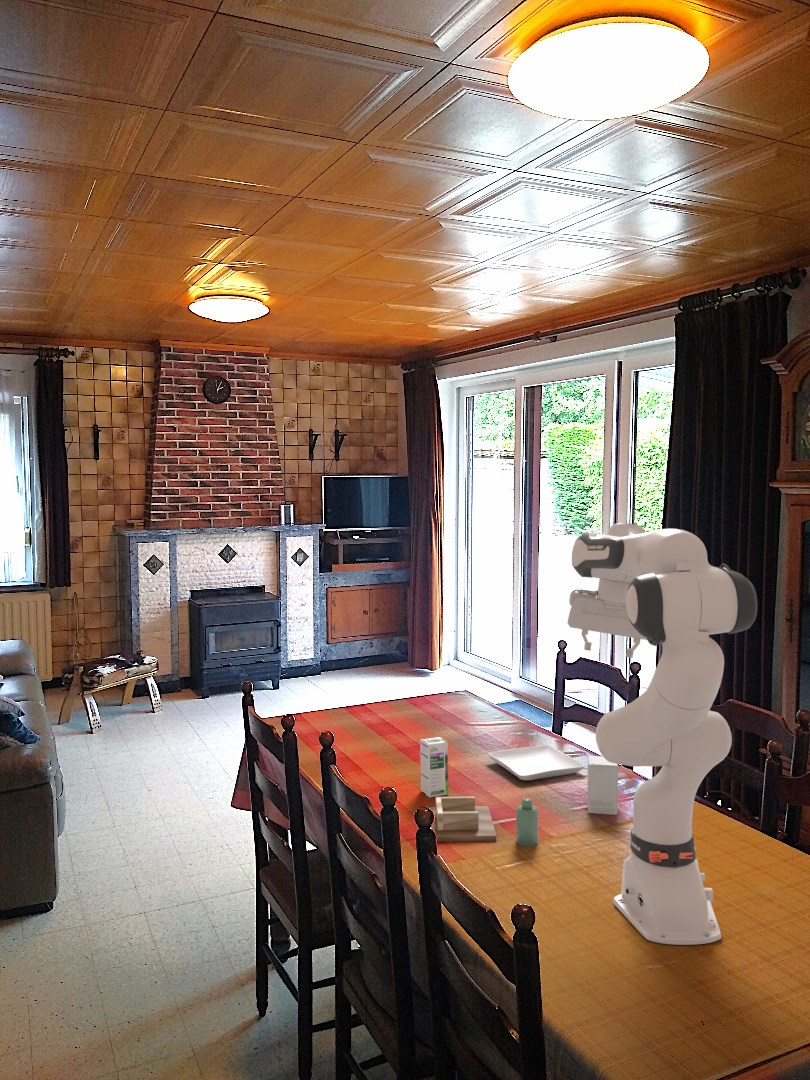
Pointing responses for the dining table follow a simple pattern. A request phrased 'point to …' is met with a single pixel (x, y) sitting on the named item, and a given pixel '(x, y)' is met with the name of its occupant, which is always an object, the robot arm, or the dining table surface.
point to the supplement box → (602, 786)
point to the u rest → (462, 820)
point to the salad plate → (536, 762)
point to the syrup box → (434, 766)
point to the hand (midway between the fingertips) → (608, 653)
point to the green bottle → (527, 823)
